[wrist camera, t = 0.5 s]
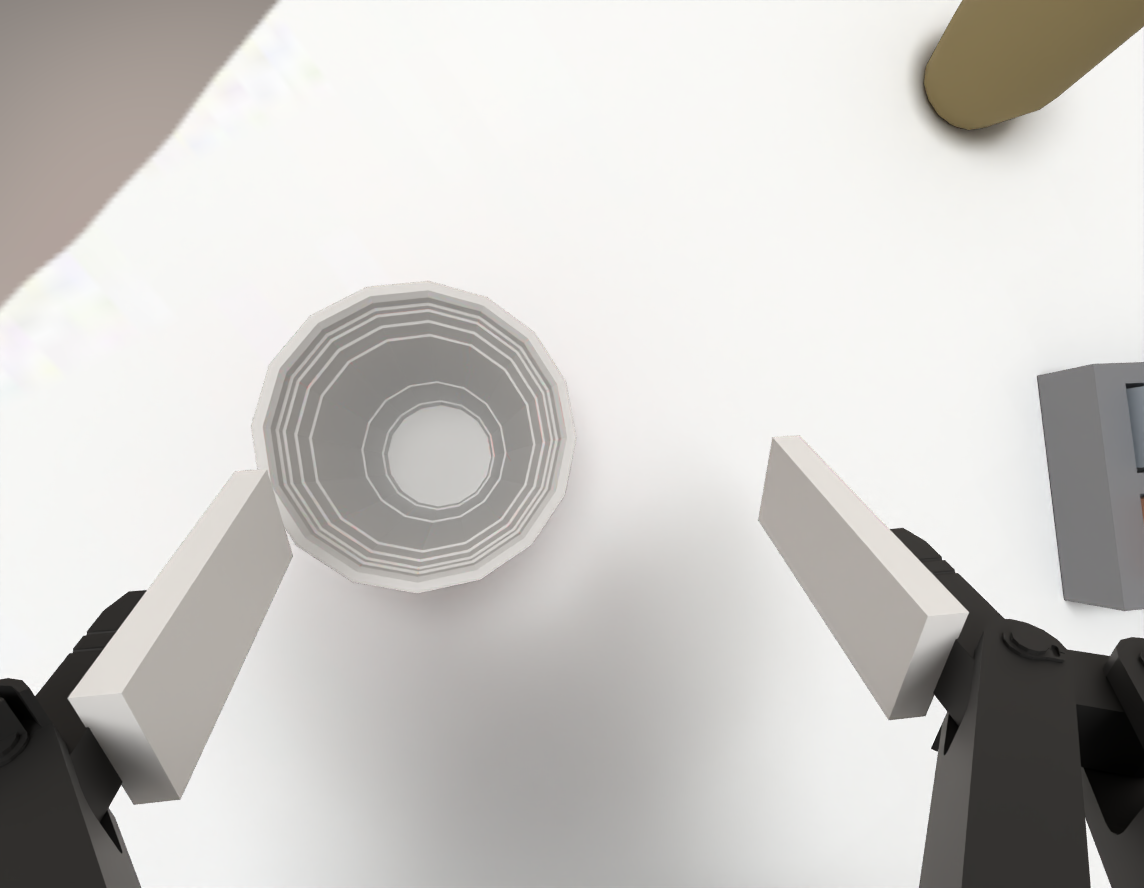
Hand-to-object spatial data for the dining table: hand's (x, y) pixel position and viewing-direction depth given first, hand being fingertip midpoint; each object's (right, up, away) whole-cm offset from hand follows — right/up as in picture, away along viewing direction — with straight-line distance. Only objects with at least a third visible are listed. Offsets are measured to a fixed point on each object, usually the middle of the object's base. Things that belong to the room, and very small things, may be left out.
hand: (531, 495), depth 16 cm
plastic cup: (-6, +1, +16) cm, 17 cm away
